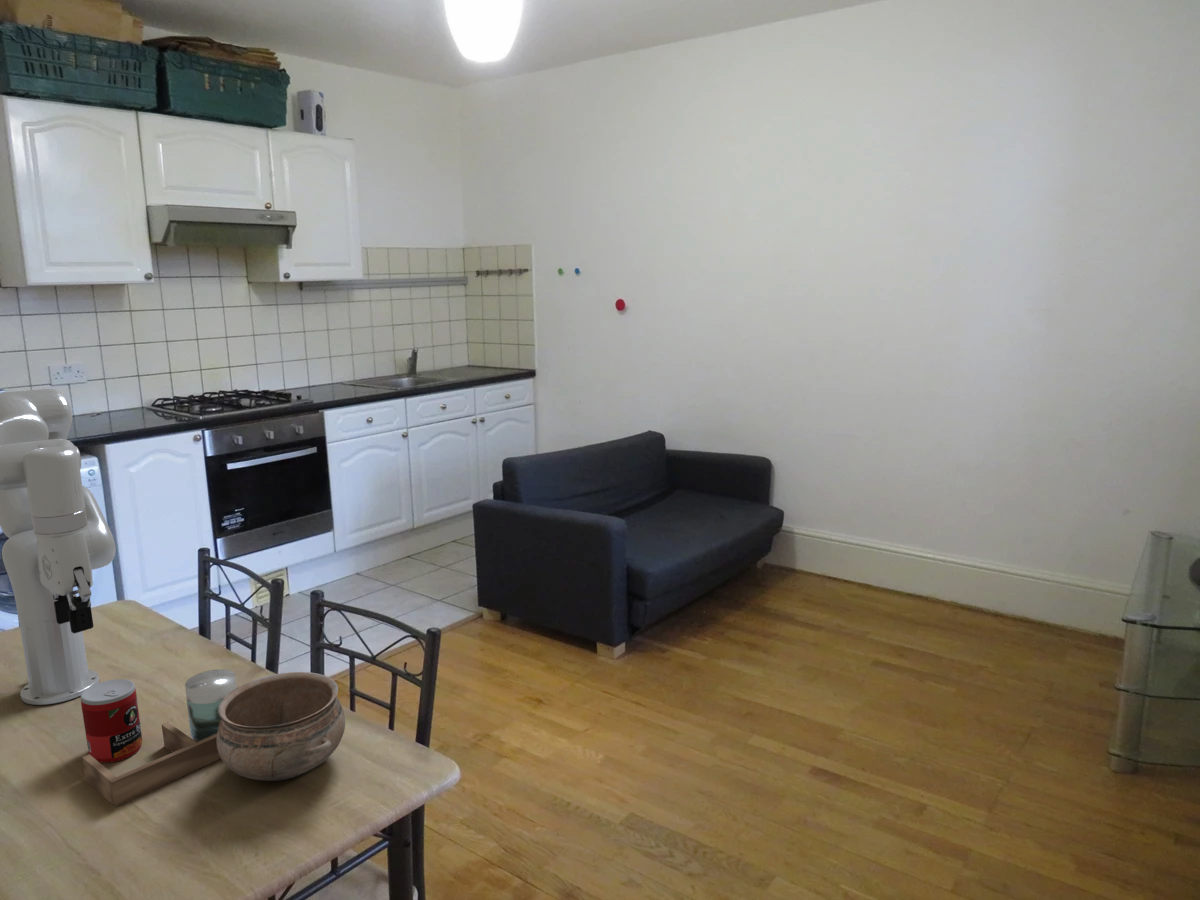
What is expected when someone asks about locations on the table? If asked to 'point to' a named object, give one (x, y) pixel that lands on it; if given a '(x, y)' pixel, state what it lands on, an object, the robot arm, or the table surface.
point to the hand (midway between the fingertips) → (75, 624)
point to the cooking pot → (280, 725)
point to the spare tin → (207, 700)
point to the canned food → (111, 720)
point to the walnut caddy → (153, 767)
